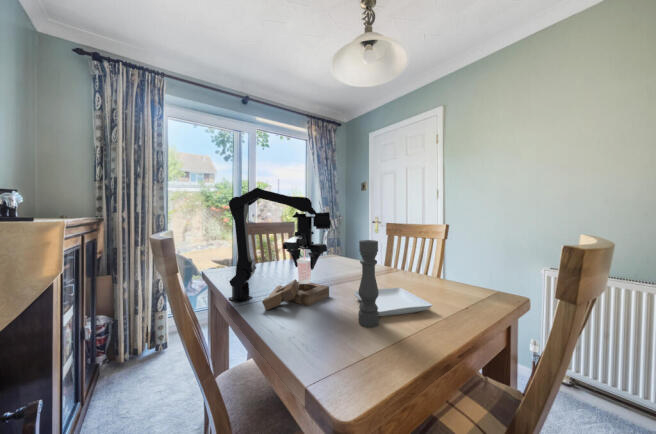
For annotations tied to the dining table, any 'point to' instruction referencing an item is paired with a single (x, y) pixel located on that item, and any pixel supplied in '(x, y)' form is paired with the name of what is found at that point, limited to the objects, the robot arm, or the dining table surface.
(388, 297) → the salad plate
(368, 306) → the candle holder
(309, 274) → the beverage cup
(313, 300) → the holder block
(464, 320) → the dining table surface
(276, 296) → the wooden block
